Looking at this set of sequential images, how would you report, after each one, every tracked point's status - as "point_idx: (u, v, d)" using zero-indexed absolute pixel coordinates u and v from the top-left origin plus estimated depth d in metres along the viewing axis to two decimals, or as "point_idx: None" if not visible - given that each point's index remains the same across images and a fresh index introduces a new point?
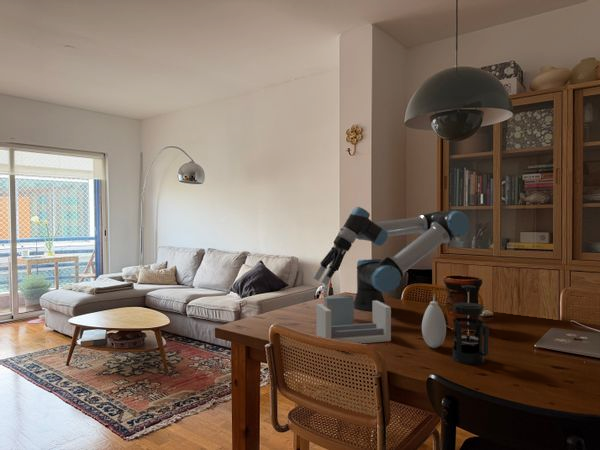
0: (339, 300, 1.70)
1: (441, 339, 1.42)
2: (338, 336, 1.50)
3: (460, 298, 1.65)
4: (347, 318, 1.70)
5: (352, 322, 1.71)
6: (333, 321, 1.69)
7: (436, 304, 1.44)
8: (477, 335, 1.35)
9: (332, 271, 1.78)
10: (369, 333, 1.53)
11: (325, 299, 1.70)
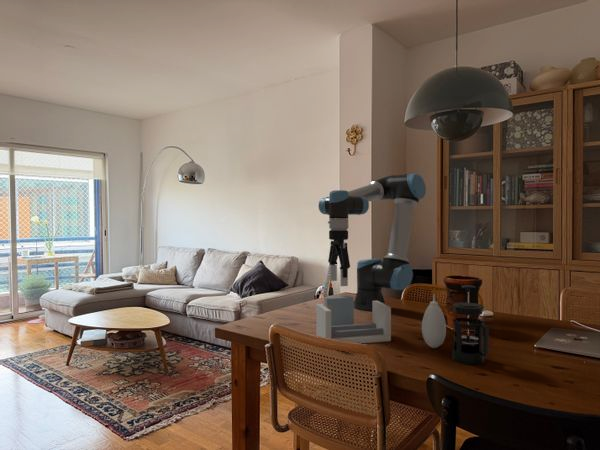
0: (339, 300, 1.70)
1: (441, 339, 1.42)
2: (338, 336, 1.50)
3: (460, 298, 1.65)
4: (347, 318, 1.70)
5: (352, 322, 1.71)
6: (333, 321, 1.69)
7: (436, 304, 1.44)
8: (477, 335, 1.35)
9: (345, 270, 1.63)
10: (369, 333, 1.53)
11: (325, 299, 1.70)
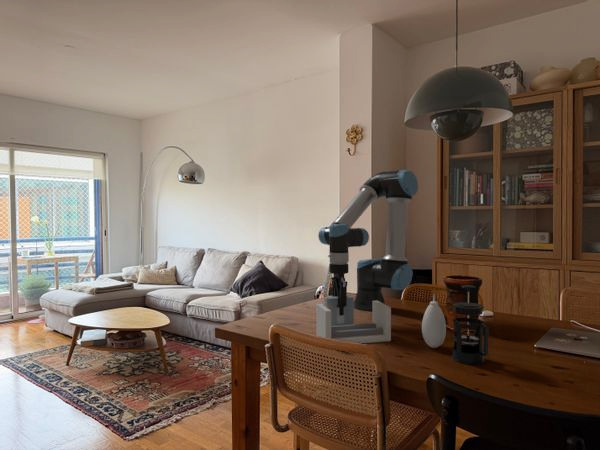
0: None
1: (441, 339, 1.42)
2: (338, 336, 1.50)
3: (460, 298, 1.65)
4: (347, 318, 1.70)
5: (352, 322, 1.71)
6: (333, 321, 1.69)
7: (436, 304, 1.44)
8: (477, 335, 1.35)
9: (341, 308, 1.68)
10: (369, 333, 1.53)
11: (325, 299, 1.70)
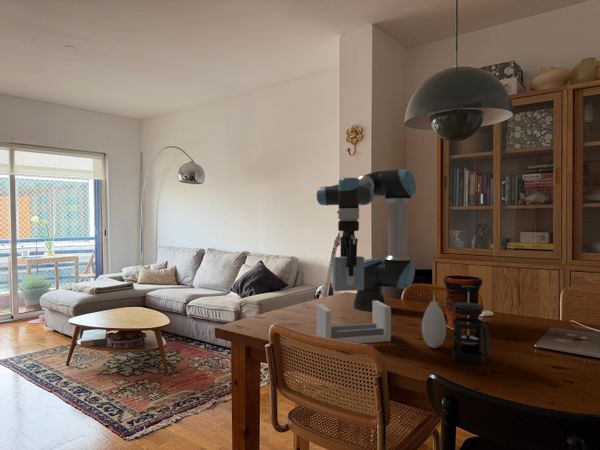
0: None
1: (441, 339, 1.42)
2: (338, 336, 1.50)
3: (460, 298, 1.65)
4: (357, 280, 1.57)
5: (362, 284, 1.58)
6: (342, 282, 1.56)
7: (436, 304, 1.44)
8: (477, 335, 1.35)
9: (351, 268, 1.55)
10: (369, 333, 1.53)
11: (333, 259, 1.58)
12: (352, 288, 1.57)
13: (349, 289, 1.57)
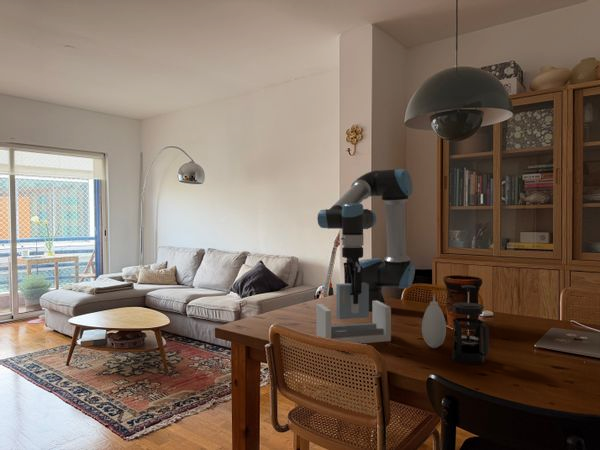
0: None
1: (441, 339, 1.42)
2: (338, 336, 1.50)
3: (460, 298, 1.65)
4: (361, 307, 1.55)
5: (367, 311, 1.55)
6: (346, 310, 1.53)
7: (436, 304, 1.44)
8: (477, 335, 1.35)
9: (356, 296, 1.52)
10: (369, 333, 1.53)
11: (337, 286, 1.54)
12: (357, 316, 1.54)
13: (354, 317, 1.54)
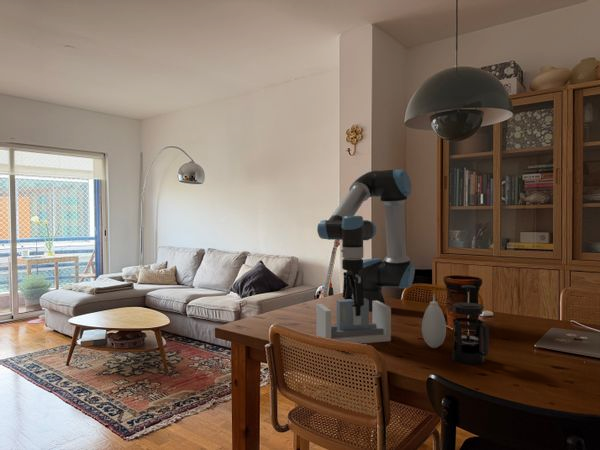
0: (353, 303, 1.54)
1: (441, 339, 1.42)
2: (338, 336, 1.50)
3: (460, 298, 1.65)
4: (362, 323, 1.55)
5: (367, 327, 1.55)
6: (347, 327, 1.54)
7: (436, 304, 1.44)
8: (477, 335, 1.35)
9: (358, 308, 1.50)
10: (369, 333, 1.53)
11: (337, 302, 1.55)
12: None
13: None
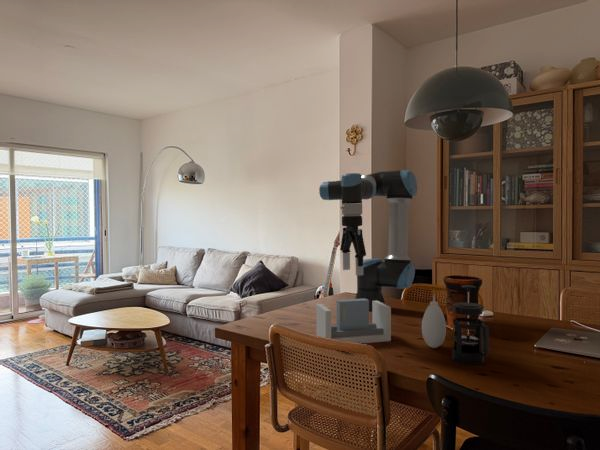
0: (353, 303, 1.54)
1: (441, 339, 1.42)
2: (338, 336, 1.50)
3: (460, 298, 1.65)
4: (362, 323, 1.55)
5: (367, 327, 1.55)
6: (347, 327, 1.54)
7: (436, 304, 1.44)
8: (477, 335, 1.35)
9: (360, 259, 1.53)
10: (369, 333, 1.53)
11: (337, 302, 1.55)
12: None
13: None
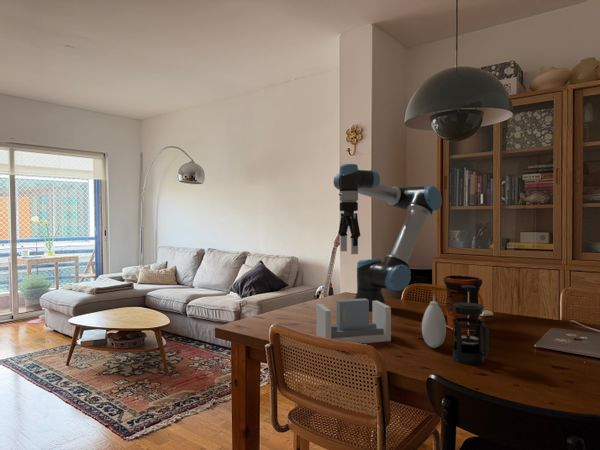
0: (353, 303, 1.54)
1: (441, 339, 1.42)
2: (338, 336, 1.50)
3: (460, 298, 1.65)
4: (362, 323, 1.55)
5: (367, 327, 1.55)
6: (347, 327, 1.54)
7: (436, 304, 1.44)
8: (477, 335, 1.35)
9: (355, 239, 1.72)
10: (369, 333, 1.53)
11: (337, 302, 1.55)
12: None
13: None
